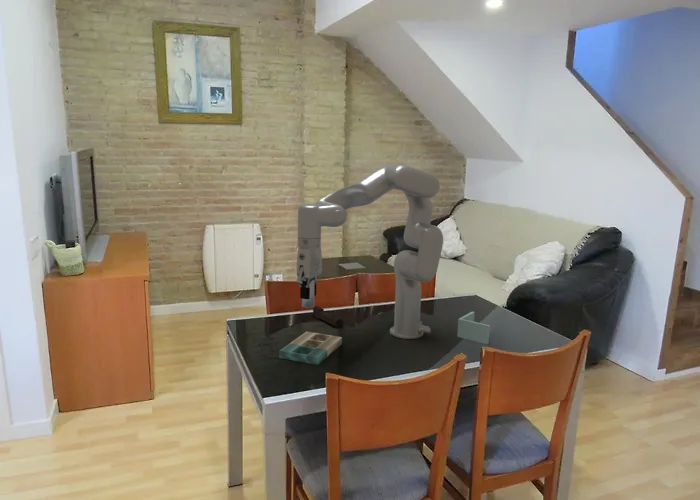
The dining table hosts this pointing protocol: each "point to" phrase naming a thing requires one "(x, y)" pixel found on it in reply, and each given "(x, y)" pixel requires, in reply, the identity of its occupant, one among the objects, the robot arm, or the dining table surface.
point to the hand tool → (327, 317)
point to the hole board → (310, 348)
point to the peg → (310, 302)
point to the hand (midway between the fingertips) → (308, 296)
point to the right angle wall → (473, 329)
